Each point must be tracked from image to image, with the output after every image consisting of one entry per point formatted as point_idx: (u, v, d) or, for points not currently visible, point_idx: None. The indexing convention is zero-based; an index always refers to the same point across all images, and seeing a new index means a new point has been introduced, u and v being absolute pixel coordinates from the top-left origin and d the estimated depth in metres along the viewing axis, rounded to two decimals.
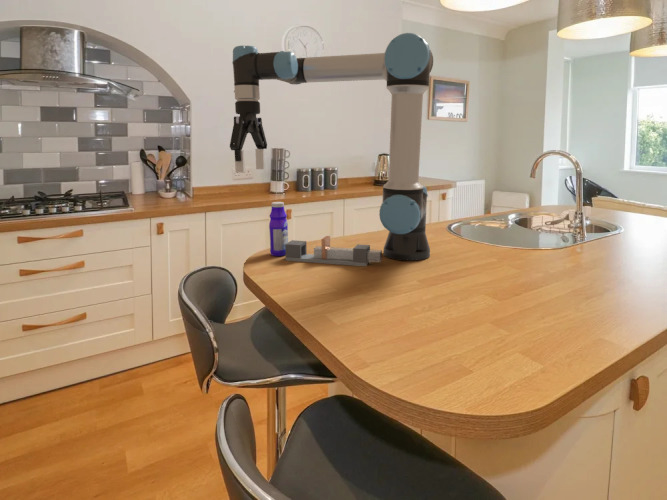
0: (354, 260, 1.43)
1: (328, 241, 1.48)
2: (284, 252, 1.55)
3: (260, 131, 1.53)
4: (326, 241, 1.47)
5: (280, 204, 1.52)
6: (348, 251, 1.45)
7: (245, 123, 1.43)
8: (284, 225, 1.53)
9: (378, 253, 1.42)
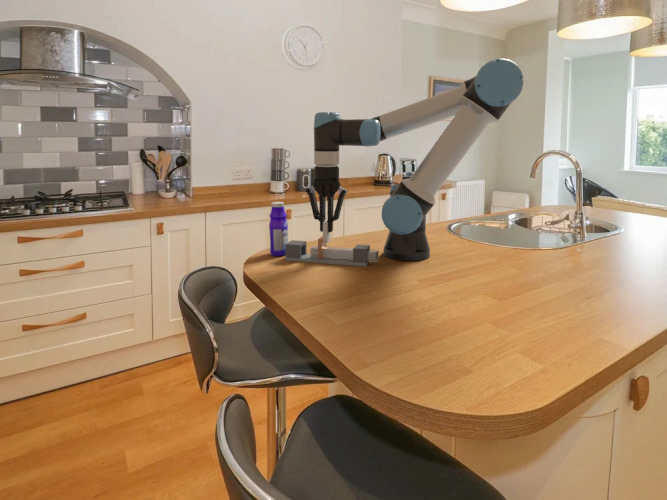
0: (354, 260, 1.43)
1: None
2: (284, 252, 1.55)
3: None
4: None
5: (280, 204, 1.52)
6: (344, 251, 1.45)
7: (317, 188, 1.43)
8: (284, 225, 1.53)
9: (374, 253, 1.42)
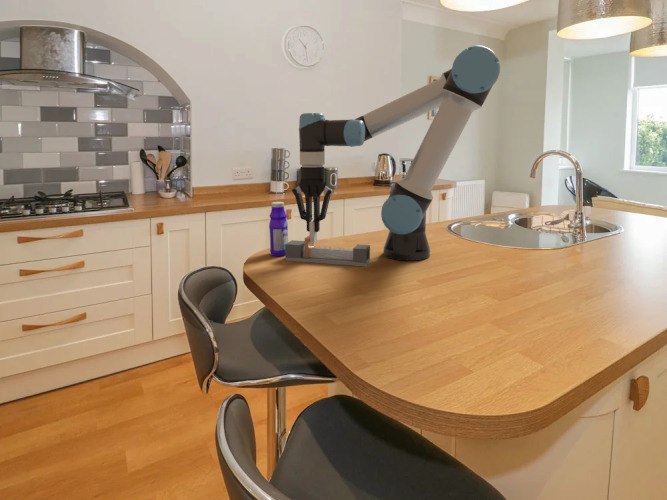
0: (354, 260, 1.43)
1: None
2: (284, 252, 1.55)
3: None
4: None
5: (280, 204, 1.52)
6: (331, 250, 1.46)
7: (303, 188, 1.45)
8: (284, 225, 1.53)
9: None
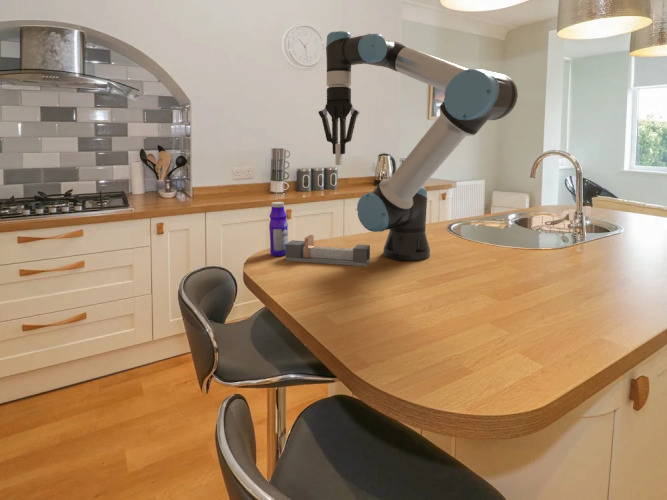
0: (354, 260, 1.43)
1: (311, 240, 1.50)
2: (284, 252, 1.55)
3: None
4: (310, 240, 1.48)
5: (280, 204, 1.52)
6: (331, 250, 1.46)
7: (329, 110, 1.47)
8: (284, 225, 1.53)
9: None
